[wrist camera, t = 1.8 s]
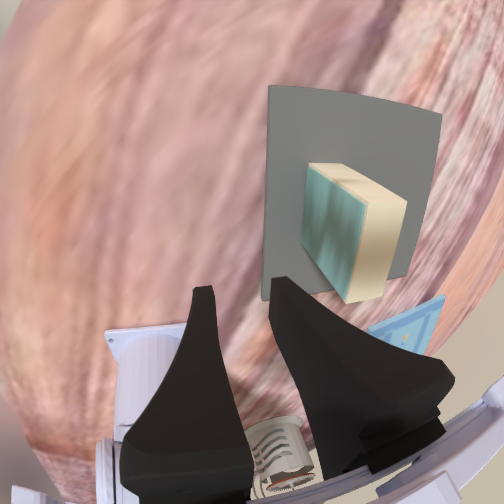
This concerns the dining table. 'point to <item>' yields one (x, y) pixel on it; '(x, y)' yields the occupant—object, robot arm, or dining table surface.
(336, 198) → the beige and teal block
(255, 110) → the dining table surface
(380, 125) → the mat
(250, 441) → the french press
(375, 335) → the folded blue cloth
